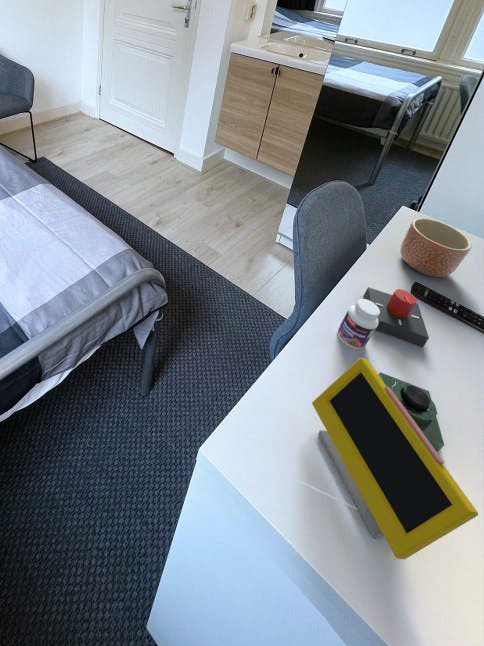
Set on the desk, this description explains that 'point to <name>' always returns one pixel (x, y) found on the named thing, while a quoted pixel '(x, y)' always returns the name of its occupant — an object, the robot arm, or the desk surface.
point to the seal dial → (401, 303)
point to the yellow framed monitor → (388, 463)
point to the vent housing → (418, 412)
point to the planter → (434, 247)
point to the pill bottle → (359, 324)
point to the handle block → (398, 320)
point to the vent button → (415, 398)
